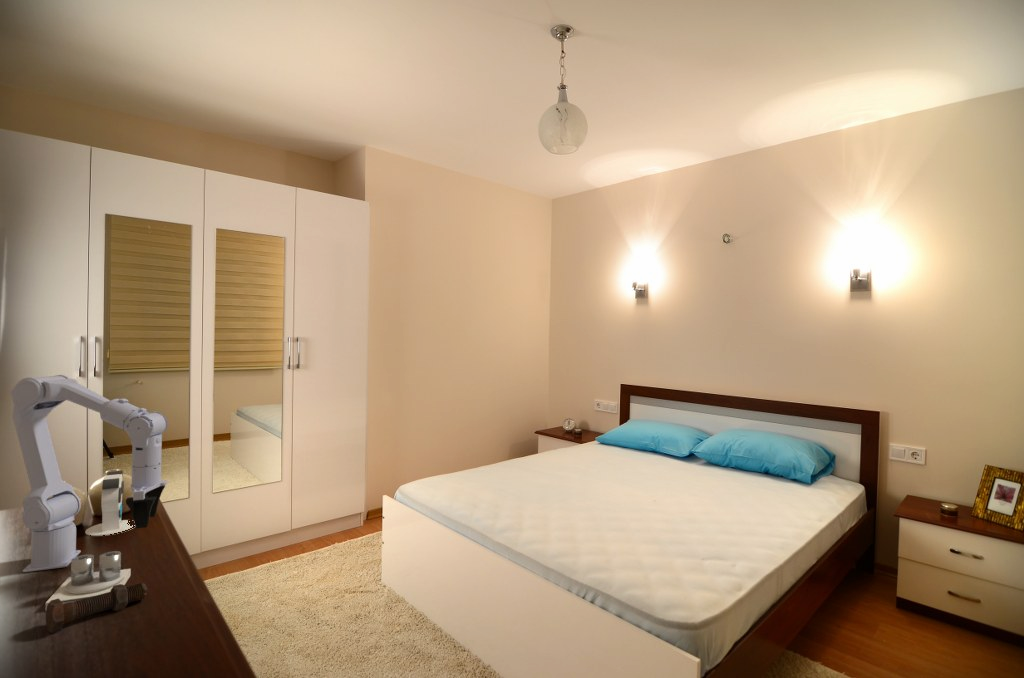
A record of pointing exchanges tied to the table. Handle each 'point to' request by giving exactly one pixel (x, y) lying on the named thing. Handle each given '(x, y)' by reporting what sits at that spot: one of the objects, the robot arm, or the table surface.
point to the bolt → (92, 605)
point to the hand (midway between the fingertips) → (145, 522)
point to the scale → (87, 588)
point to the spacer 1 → (82, 570)
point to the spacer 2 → (109, 566)
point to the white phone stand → (111, 506)
